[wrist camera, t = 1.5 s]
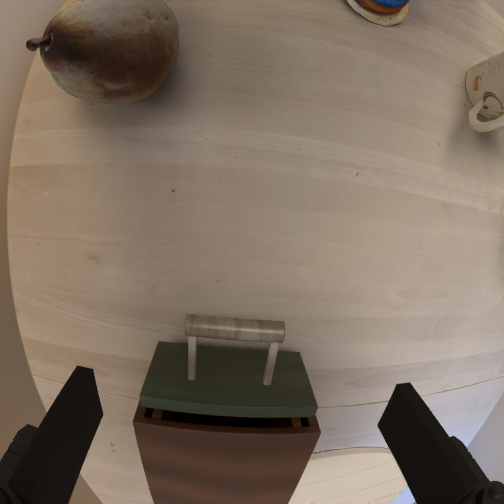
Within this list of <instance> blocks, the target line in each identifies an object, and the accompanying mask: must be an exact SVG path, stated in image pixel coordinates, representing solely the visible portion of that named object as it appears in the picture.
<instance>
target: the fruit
mask: <svg viewBox="0 0 504 504" xmlns="http://www.w3.org/2000/svg"><path fill="white" fill-rule="evenodd" d="M178 42H179V28H178V23H177V20H176V18H175V15H174V14H173V12H172V11H171V9H170V8H169V7H168V6H167V5H166V4H165V3H164V2H162V1H161V0H82V1H80V2H79V3H76V4H74V5H72V6H69V7H67V8H66V9H64V10H63V11H61V12H60V13H58V14H57V15H56V16H55V17H54V18H53V19H52V20H51V21H50V22H49V24H48V26H47V27H46V29H45V32H44V35H43V37H40V38H32V39H30V40H28V41H27V43H26V47H27V48H28V49H29V50H30V51H35V50H36V49H37V48H39V47H40V55H41V58H42V61H43V63H44V65H45V67H46V68H47V69H48V70H49V71H50V72H51V75H52V77H53V79H54V81H55V82H56V84H57V85H58V86H60V87H61V88H62V89H63V90H65V91H66V92H67V93H68V94H70V95H72V96H74V97H77V98H80V99H83V100H87V101H91V102H95V103H105V104H119V103H130V102H135V101H139V100H142V99H144V98H147V97H148V96H150V95H152V94H153V93H154V92H155V91H156V90H157V89H158V88H159V86H160V85H161V84H162V82H163V80H164V79H165V77H166V76H167V75H168V73H169V71H170V70H171V68H172V66H173V64H174V61H175V59H176V55H177V50H178Z"/></svg>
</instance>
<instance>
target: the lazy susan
mask: <svg viewBox="0 0 504 504" xmlns="http://www.w3.org/2000/svg"><path fill="white" fill-rule="evenodd" d="M406 486H407V482H406V480H405V478H404V476H403V474H402V472H401V470H400V468H399V466H398V465H397V463H396V461H395V459H394V457H393V455H392V453H391V451H390V449H386V448H375V447H363V448H348V449H340V450H332V451H326V452H320V453H314V454H312V455H311V457H310V459H309V462H308V464H307V466H306V468H305V470H304V473H303V475H302V477H301V479H300V481H299V483H298V485H297V487H296V489H295V491H294V493H293V495H292V497H291V499H290V501H289V503H288V504H389V503H391V502H392V501H393V500H394V499H395V498H396V497H397V496H398V495H399V494H400V493H401V492H402V491H403V490H404V489H405V487H406Z"/></svg>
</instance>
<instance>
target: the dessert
mask: <svg viewBox="0 0 504 504" xmlns="http://www.w3.org/2000/svg"><path fill="white" fill-rule="evenodd" d="M347 2H348V3H349V5H351V7H352V8H353V9H354V10H355V11H356V12H358V13H359V14H361V15H362V16H363V17H365V18H366V19H368V20H369V21H372V22H375V23H377V24H379V25H383V26H390V25H394V24H397V23H400V22H402V21H403V20H404V19H405V18H406V16H407V13H408V10H409V0H347Z"/></svg>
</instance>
